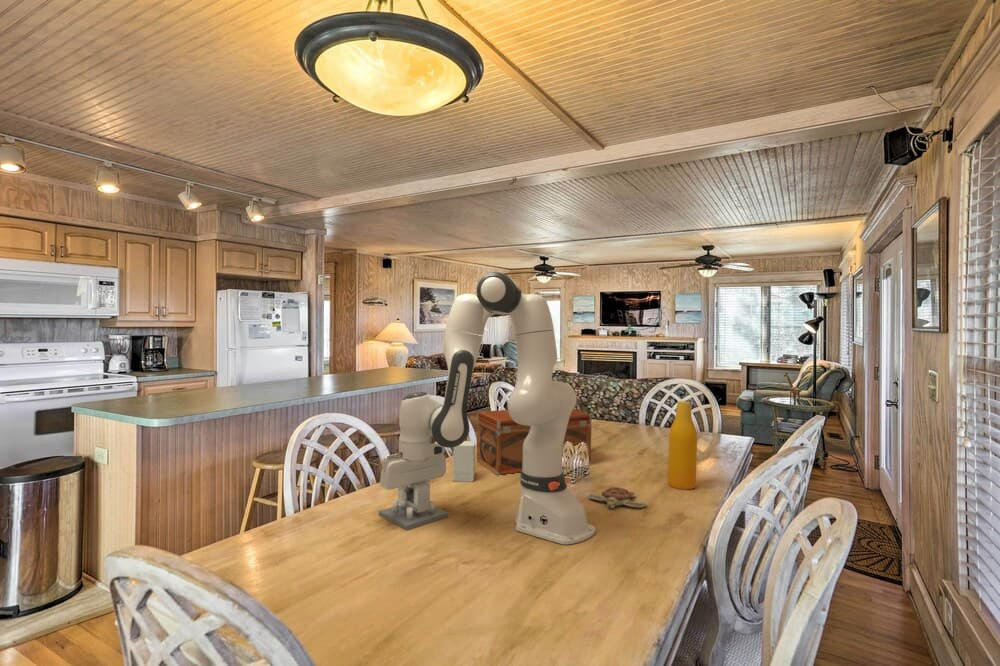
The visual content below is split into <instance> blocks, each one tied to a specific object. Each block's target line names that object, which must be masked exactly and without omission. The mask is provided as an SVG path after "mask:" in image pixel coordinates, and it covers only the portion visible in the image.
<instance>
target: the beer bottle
mask: <svg viewBox="0 0 1000 666" xmlns="http://www.w3.org/2000/svg"><path fill="white" fill-rule="evenodd" d="M691 405H692V404H691V402H690V401H682V400H681V401H677V403H676V411H675V412H676V413H675V416H674V417H675V419H674V420H673V423H672V424H671V426H670V428H669V433H668V434H669V435H668V464H667V465H668V467H667V470H668V471H667V485H668V486H669V487H672V488H673V487H674V488H673V489H677V488H678V490H683V489H690V490H694V489H695V488H696V485H697V456H698V454H697V453H698V434H697V433H698V432H697V430H696V427H695V424H694V423H693V418H692V406H691ZM693 488H694V489H693Z"/></svg>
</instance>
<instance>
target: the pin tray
mask: <svg viewBox="0 0 1000 666" xmlns="http://www.w3.org/2000/svg"><path fill="white" fill-rule="evenodd" d="M378 516H380V517H381V518H383V519H385V520H387V521H389V522H391V523H393V525H394V524H395V525H396V526H398V527H400V528H401V529H404V530H405V531H408V530H412V529H415V528H417V527H418V528H419V527H421V526H424V525H427V524H432V523H434V522H437V521H441V520H443V519H446V518H448V517H449V512H448V511H447V510H443V509H441V508H439V507H437V506H435V500H430V509H429V510H426V511H422V512H419V513H417V512H415V511H413V507H405V506H403V505H401V504H399V501H398V499H394V500H392V507H389V508H385V509H381V510H378Z"/></svg>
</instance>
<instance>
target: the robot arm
mask: <svg viewBox="0 0 1000 666" xmlns="http://www.w3.org/2000/svg"><path fill="white" fill-rule="evenodd" d="M505 316H506V317H507V316H509V317H510V318H511V321H512V323H513V332H514V337H515V346H516V356H517V371H516V373H517V374H516V379H515V384H514V389H513V390H512V392H511V394H510V396H509V397H508V400H507V410H508V412H509V414H510V416H511V418H512V419H513V420H514V421H515V422H516V423H518V424H520V425H526V426H531V428H530V431H529V433H528V435H527V437H526V438H525V440H524V443H523V462H522V470H521V473H520V476H519V479H520V485H521V489H520V498H519V504H518V509H517V513H516V516H515V520H514V521H515V524H516V526H515V530H516V531H517V532H519V533H523V534H526V535H529V536H532V537H533V536H534V537H537V538H539V539H544V540H547V541H551V542H553V543H556V544H561V545H572V544H577V543H580V542H583V541H585V540H587V539H590V538H591V537H592V536H594V535H595V534H596V526H594V525H592V524H591V523H588V521H587V520H588V518H587V512H586V508H585V506H584V505H583V504H582V503H581V502H580V501H579V499H578V498H576V497H575V495H574V494H573V493H572V492H571V491H570V489H568V483H571V481H570V479H571V477H569V478H568V477H567V478H566V476H565V474H564V472H563V468H562V456H563V443H564V437H565V433H566V429H567V425H568V421H569V418H570V415H571V413H572V411H573V409H575V407H576V405H577V394H576V391H575V390H574V388H573V387H572V386H571V385H570V384H568V383H566V382H563V381H558V380H552V379H553V371H554V368H555V365H556V364H557V361H558V352H557V351H558V350H557V344H556V343H557V342H556V335H555V328H554V322H553V318H552V313H551V311H550V307H549V304H548V302H547V300H546V298H545V297H543V296H542V295H540V294H536V293H528V294H526V293H523V292H522V289H521V288H520V286H519V285H518V284H517V282H516V281H515V280H514V279H513V278H511V277H510V276H508V275H507V274H505V273H504V272H499V271H492V272H489V273H486V274H485V275H483V276H482V277H481V278H480V280H479V281H478V283H477V285H476V293H475V294H473V293H464V294H459V295H458V296H456V297H455V299H454V300H453V302H452V305H451V308H450V311H449V314H448V317H447V321H446V325H445V329H444V335H443V342H442V343H443V355H444V357H445V360H446V365H447V374H448V375H447V376H448V377H447V382H446V388H445V394H444V400H439V399H438V398H435V397H434V396H432V395H431V394H430V393H428V392H425V391H419V392H413V393H409V394H406V395H405V396H404V397H403V398H402V400H401V401H400V406H399V407H400V409H399V419H398V420H399V421H398V424H399V430H400V433H399V437H398V452H396V453H393V454H391V453H390V454H387V455H386V456H385V457H384V458H383V459H382V461H381V471H380V472H381V473H380V478H379V479H380V480H379V485H380V486H381V488H383V490H384V489H385V490H387V491H391V490H395V489H397V490H398V489H399V491H400V492H401V494H402V500H403V501H407V500H409V494H407V493H406V492H405V489H406V487H407V485H411V484H415V483H419V482H425V483H427V484H429V485H430V481H431V480H435V479H439V478H443V477H445V474H446V472H447V461H446V455H445V454H444V453H445V452H446V448H449V449H452V448H454V447H456V446H459V445H460V444H462V443H463V442H464V441H467V438H468V437H469V434H470V421H469V418H468V413H467V409H468V401H469V394H470V389H471V384H472V376H473V373H474V369H475V366H476V361H477V358H478V357H479V356H478V355H479V352H480V350H481V346H482V344H483V343H482V342H483V338H484V334H485V333H484V332H485V328H486V324H487V322H488V319H489V318H496V317H505ZM431 437H433V439H434V441H435V442H432V441H431Z"/></svg>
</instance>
